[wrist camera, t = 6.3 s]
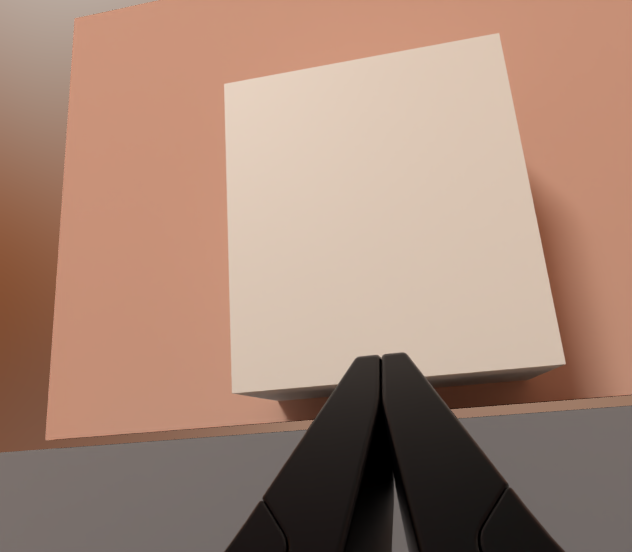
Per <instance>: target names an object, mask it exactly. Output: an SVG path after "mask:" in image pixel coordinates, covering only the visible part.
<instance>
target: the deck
mask: <svg viewBox="0 0 632 552" xmlns="http://www.w3.org/2000/svg"><path fill="white" fill-rule="evenodd" d="M458 420H459V421H460V422H461V424H462V425H463V426H464V428H465V429H466V430H467V431H468V433H469V434H470V435H471V437H472V438H473V439H474V440H475V442H476V443H477V444H478V446H479V447H480V448H481V449H482V451H483V452H484V453H485V454H486V456H487V457H488V458H489V460H490V461H491V462H492V463H493V465H494V466H495V467H496V469H497V470H498V471H499V472H500V474H501V475H502V476H503V478H504V479H505V480H506V481H507V483H508V484H509V487H510V488H512V489H513V490H514V491H515V493H516V494H517V495H518V496H519V498H520V499H521V500H522V501H523V503H524V504H525V505H526V507H527V508H528V509H529V510H530V511H531V513H532V514H533V515H534V516H535V517H536V519H537V520H538V521H539V522H540V523H541V525H542V526H543V527H544V528H545V529H546V531H547V532H548V533H549V534H550V535H551V537H552V538H553V539H554V540H555V541H556V542H557V543H558V544H559V545H560V546H561V547H562V549H563V550H564V551H565V552H632V406H620V407H607V408H593V409H581V410H566V411H554V412H540V413H526V414H513V415H499V416H486V417H474V418H459V419H458ZM306 431H307V430H298V431H284V432H272V433H258V434H245V435H232V436H218V437H204V438H190V439H178V440H164V441H150V442H137V443H124V444H110V445H98V446H83V447H70V448H56V449H43V450H29V451H16V452H5V453H4V452H3V453H0V552H224V551H225V550H226V548H227V547H228V546H229V544H230V543H231V541H232V540H233V539H234V537H235V536H236V534H237V533H238V532H239V530H240V529H241V527H242V526H243V524H244V523H245V522H246V520H247V519H248V517H249V516H250V514H251V513H252V511H253V510H254V508H255V507H256V505H257V504H258V502H259V501H263V500H262V497H263V495H264V494H265V492H266V491H267V489H268V488H269V486H270V485H271V483H272V482H273V480H274V479H275V477H276V476H277V474H278V473H279V471H280V470H281V468H282V467H283V465H284V464H285V462H286V461H287V459H288V458H289V457H290V455H291V454H292V452H293V451H294V449H295V448H296V446H297V445H298V443H299V442H300V440H301V439H302V437H303V436H304V434H305V433H306ZM392 552H409V551H408V546H407V542H406V537H405V532H404V527H403V523H402V518H401V513H400V508H399V503H398V498H397V493H396V487H395V481H394V512H393V534H392Z"/></svg>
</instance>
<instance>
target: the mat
mask: <svg viewBox="0 0 632 552" xmlns="http://www.w3.org/2000/svg"><path fill="white" fill-rule="evenodd" d="M496 33H499V35H500V40H501V45H502V50H503V55H504V60H505V64H506V69H507V74H508V79H509V84H510V89H511V94H512V99H513V104H514V109H515V114H516V119H517V124H518V129H519V134H520V139H521V144H522V149H523V154H524V159H525V164H526V169H527V174H528V179H529V184H530V189H531V193H532V198H533V203H534V208H535V213H536V218H537V223H538V228H539V233H540V238H541V243H542V248H543V253H544V258H545V263H546V268H547V273H548V278H549V283H550V288H551V293H552V298H553V303H554V308H555V313H556V318H557V322H558V327H559V332H560V337H561V342H562V347H563V352H564V357H565V362H566V364H565V365H563V366H560V367H558V368H555V369H553V370H551V371H548V372H546V373H544V374H541V375H539V376H536V377H534V378H532V379H529V380H523V381H511V382H499V383H487V384H475V385H464V386H452V387H440V388H434V389H435V390H436V392H437V393H438V394H439V396H440V397H441V398H442V399H443V401H444V402H445V403H446V404H447V406H448V407H449V408H450V409H458V408H471V407H484V406H497V405H509V404H522V403H535V402H547V401H561V400H574V399H587V398H600V397H612V396H624V395H625V396H626V395H632V0H158V1H153V2H149V3H144V4H139V5H135V6H130V7H125V8H121V9H116V10H112V11H107V12H102V13H98V14H93V15H89V16H84V17H79V18H75V21H74V37H73V50H72V65H71V79H70V93H69V94H70V95H69V108H68V123H67V136H66V151H65V165H64V166H65V167H64V179H63V194H62V209H61V222H60V237H59V252H58V266H57V281H56V294H55V309H54V323H53V337H52V352H51V366H50V380H49V395H48V410H47V423H46V439H45V440H58V439H70V438H83V437H96V436H109V435H122V434H135V433H148V432H161V431H174V430H186V429H198V428H212V427H226V426H238V425H251V424H264V423H275V422H276V423H277V422H290V421H302V420H314V419H315V418H316V416H317V415H318V413H319V412H320V410H321V409H322V407H323V406H324V404H325V403H326V401H327V400H328V398H329V397H321V398H309V399H297V400H285V401H274V400H268V399H262V398H256V397H250V396H244V395H238V394H232V377H231V338H230V299H229V259H228V220H227V180H226V141H225V102H224V84H226V83H231V82H237V81H242V80H248V79H253V78H258V77H264V76H269V75H275V74H280V73H285V72H291V71H296V70H302V69H307V68H312V67H318V66H323V65H329V64H334V63H339V62H345V61H350V60H355V59H361V58H366V57H372V56H377V55H382V54H388V53H393V52H399V51H404V50H409V49H415V48H420V47H426V46H431V45H436V44H442V43H447V42H453V41H458V40H463V39H469V38H474V37H480V36H485V35H490V34H496Z"/></svg>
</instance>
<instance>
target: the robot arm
mask: <svg viewBox="0 0 632 552" xmlns="http://www.w3.org/2000/svg"><path fill="white" fill-rule="evenodd" d="M394 481H395V487H396V493H397V498H398V503H399V508H400V513H401V518H402V523H403V527H404V532H405V537H406V542H407V546H408V551H409V552H565V551H564V550H563V549H562V547H561V546H560V545H559V544H558V543H557V542H556V541H555V540H554V539H553V538H552V537H551V535H550V534H549V533H548V532H547V531H546V529H545V528H544V527H543V526H542V525H541V523H540V522H539V521H538V520H537V519H536V517H535V516H534V515H533V514H532V513H531V511H530V510H529V509H528V508H527V507H526V505H525V504H524V503H523V501H522V500H521V499H520V498H519V496H518V495H517V494H516V493H515V491H514V490H513V489H512V488H510V487H509V484H508V483H507V481H506V480H505V479H504V478H503V476H502V475H501V474H500V472H499V471H498V470H497V469H496V467H495V466H494V465H493V463H492V462H491V461H490V460H489V458H488V457H487V456H486V454H485V453H484V452H483V451H482V449H481V448H480V447H479V446H478V444H477V443H476V442H475V440H474V439H473V438H472V437H471V435H470V434H469V433H468V431H467V430H466V429H465V428H464V426H463V425H462V424H461V422H460V421H459V420H458V419H457V417H456V416H455V415H454V413H453V412H452V411H451V410H450V408H449V407H448V406H447V404H446V403H445V402H444V401H443V399H442V398H441V397H440V396H439V394H438V393H437V392H436V390H435V389H434V388H433V387H432V385H431V384H430V383H429V381H428V380H427V379H426V378H425V376H424V375H423V374H422V372H421V371H420V370H419V369H418V367H417V366H416V365H415V363H414V362H413V361H412V360H411V358H410V357H409V356H408V355H407V354H406V353H404V352H399V353H389V354H384V355H382V357H380V356H379V355H368V356H359V357H357V358H355V359H354V361H353V362H352V364H351V365H350V367H349V368H348V370H347V371H346V373H345V374H344V376H343V377H342V379H341V380H340V382H339V383H338V385H337V386H336V388H335V389H334V391H333V392H332V394H331V395H330V397H329V398H328V400H327V401H326V403H325V404H324V406H323V407H322V409H321V410H320V412H319V413H318V415H317V416H316V418H315V419H314V421H313V422H312V424H311V425H310V427H309V428H308V430H307V431H306V433H305V434H304V436H303V437H302V439H301V440H300V442H299V443H298V445H297V446H296V448H295V449H294V451H293V452H292V454H291V455H290V457H289V458H288V459H287V461H286V462H285V464H284V465H283V467H282V468H281V470H280V471H279V473H278V474H277V476H276V477H275V479H274V480H273V482H272V483H271V485H270V486H269V488H268V489H267V491H266V492H265V494H264V495H263V497H262V500H263V501H259V502H258V504H257V505H256V507H255V508H254V510H253V511H252V513H251V514H250V516H249V517H248V519H247V520H246V522H245V523H244V524H243V526H242V527H241V529H240V530H239V532H238V533H237V534H236V536H235V537H234V539H233V540H232V541H231V543H230V544H229V546H228V547H227V548H226V550H225V551H224V552H392V534H393V512H394Z"/></svg>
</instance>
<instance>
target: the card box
mask: <svg viewBox="0 0 632 552" xmlns="http://www.w3.org/2000/svg"><path fill="white" fill-rule="evenodd" d="M224 102H225V141H226V180H227V220H228V259H229V299H230V338H231V377H232V394H238V395H244V396H250V397H256V398H262V399H268V400H274V401H285V400H297V399H309V398H321V397H330V395H331V394H332V392H333V391H334V389H335V388H336V386H337V385H338V383H339V382H340V380H341V379H342V377H343V376H344V374H345V373H346V371H347V370H348V368H349V367H350V365H351V364H352V362H353V361H354V359H355V358H357V357H359V356H368V355H379V356H380V357H382V355H384V354H389V353H399V352H404V353H406V354H407V355H408V356H409V357H410V358H411V360H412V361H413V362H414V363H415V365H416V366H417V367H418V369H419V370H420V371H421V372H422V374H423V375H424V376H425V378H426V379H427V380H428V381H429V383H430V384H431V385H432V387H433V388H440V387H452V386H464V385H475V384H487V383H499V382H511V381H523V380H529V379H532V378H534V377H536V376H539V375H541V374H544V373H546V372H548V371H551V370H553V369H555V368H558V367H560V366H563V365H565V364H566V362H565V357H564V352H563V347H562V342H561V337H560V332H559V327H558V322H557V318H556V313H555V308H554V303H553V298H552V293H551V288H550V283H549V278H548V273H547V268H546V263H545V258H544V253H543V248H542V243H541V238H540V233H539V228H538V223H537V218H536V213H535V208H534V203H533V198H532V193H531V189H530V184H529V179H528V174H527V169H526V164H525V159H524V154H523V149H522V144H521V139H520V134H519V129H518V124H517V119H516V114H515V109H514V104H513V99H512V94H511V89H510V84H509V79H508V74H507V69H506V64H505V60H504V55H503V50H502V45H501V40H500V35H499V33H496V34H490V35H485V36H480V37H474V38H469V39H463V40H458V41H453V42H447V43H442V44H436V45H431V46H426V47H420V48H415V49H409V50H404V51H399V52H393V53H388V54H382V55H377V56H372V57H366V58H361V59H355V60H350V61H345V62H339V63H334V64H329V65H323V66H318V67H312V68H307V69H302V70H296V71H291V72H285V73H280V74H275V75H269V76H264V77H258V78H253V79H248V80H242V81H237V82H231V83H226V84H224Z"/></svg>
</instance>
